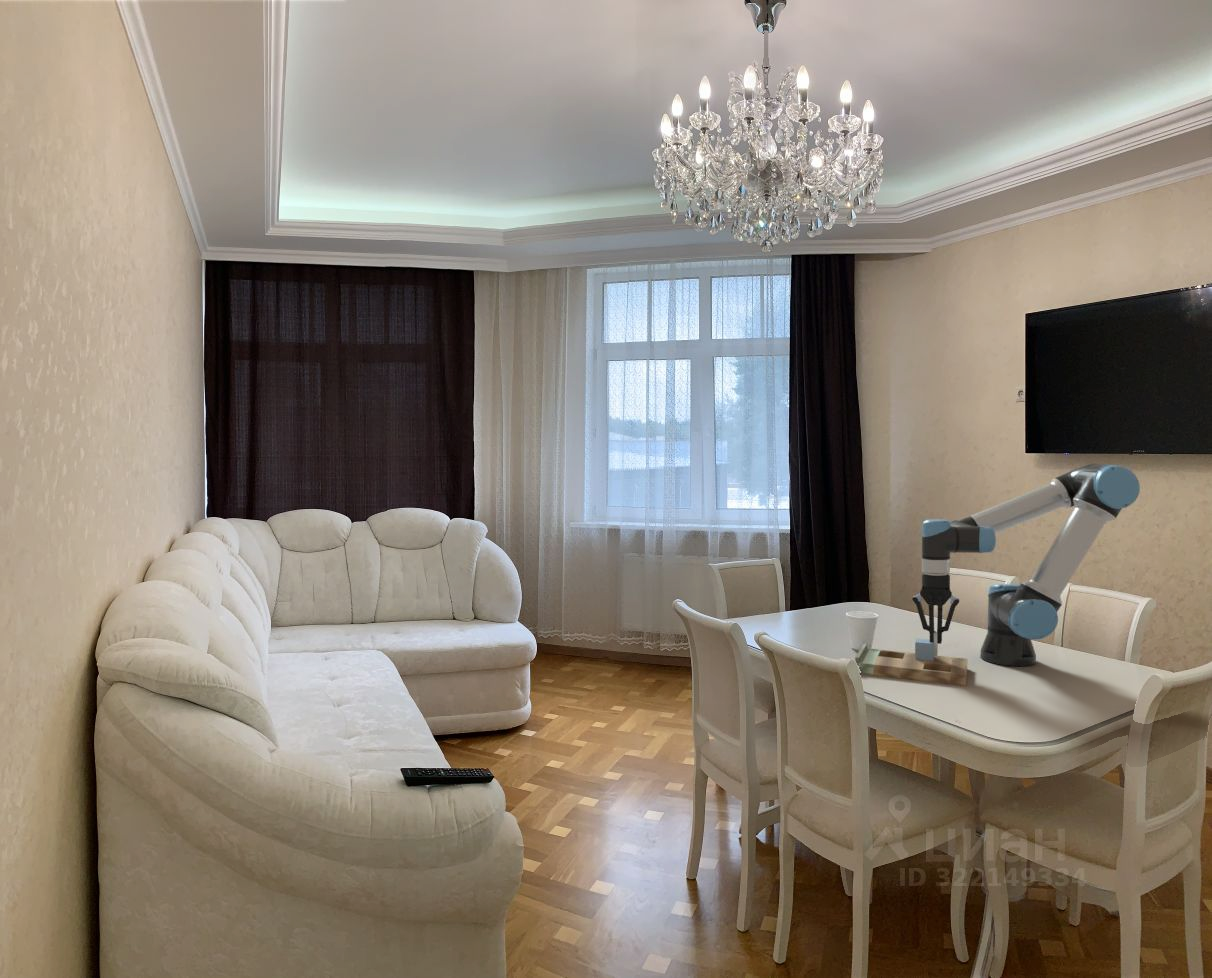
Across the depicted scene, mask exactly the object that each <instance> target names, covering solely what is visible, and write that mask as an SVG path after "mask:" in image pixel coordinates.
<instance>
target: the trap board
mask: <svg viewBox="0 0 1212 978" xmlns="http://www.w3.org/2000/svg"><path fill="white" fill-rule="evenodd" d="M854 659H855V660H854V662H855V661H856V663H857V665H858V666H859V669H860V671H861V674H862V675H869V676H870V675H871V676H876V677H879V676H880V677H886V678H887V677H888V678H897V679H904V680H912V681H920V682H921V681H922V682H930V683H938V684H946V685H947V684H949V685H955V686H956V685H957V686H963V687H964V686H967V676H968V675H967V674H968V658H965V657H964V658H963V657H962V658H961V657H955V656H954V657H953V656H943V655H937V656H935V657H934V661H928V660H917V659H915V652H905V651H896V650H895V651H894V650H889V649H888V650H886V649H876V648H871V649H868V648H867V643H863V645H862V647H861V648H860V650H858V652H857V654H856V655H855V658H854ZM861 674H860V675H861Z"/></svg>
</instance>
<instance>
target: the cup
mask: <svg viewBox="0 0 1212 978" xmlns="http://www.w3.org/2000/svg"><path fill="white" fill-rule="evenodd" d="M845 615H846V619H847V626H848V634H849V641H850V647H851V648H852V649H853V650H855V651H859V650H860V648H861V647H862V645H863V643H867V648H868V649H873V648H872V647H873V643H874V642H873V641H874V639H875V637H874V636H875V631H876V627H877V623H878V618H879V615H878V614H877V613H874V612H870V611H860V610H859V611H858V610H856V611H848V612H845Z"/></svg>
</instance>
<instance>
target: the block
mask: <svg viewBox="0 0 1212 978" xmlns="http://www.w3.org/2000/svg"><path fill="white" fill-rule="evenodd" d="M914 645H915V646H914V647H915V649H914V653H915V659H917V660H928V661H934V657H935V655H934V642H930V638H929V639H927V638H916V639H915V641H914Z"/></svg>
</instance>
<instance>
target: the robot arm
mask: <svg viewBox="0 0 1212 978" xmlns="http://www.w3.org/2000/svg"><path fill="white" fill-rule="evenodd" d="M1140 490H1141V485H1140V481H1139V479H1138V477H1137V475H1136V474H1135V472H1133V471H1132V470H1131V469H1129V468H1128V467H1125V466H1122V465H1119V464H1115V463H1114V464H1113V463H1110V464H1102V463H1089V464H1085V465H1082V466H1079V467H1077V468H1075V469H1072V470H1070V471H1068V472H1066V473H1063V474H1062V475H1059V476H1057V477H1054V478H1052V479H1051V481H1050V483H1048V484H1046V485H1043V486H1042V487H1041V486H1040V487H1038V488H1036V489H1033V490H1031V491H1028V492H1026V493H1024V494H1021V495H1019V496H1016V497H1014V498H1011V499H1009V500H1007V501H1004V502H1002V503H999V504H996V505H993V506H992V507H989V508H987V509H984V510H982V511H981V510H980V511H979V512H977V513H974V514H971V515H970V516H967V517H963V518H962V519H960V520H956V519H955V520H949V519H944V518H943V519H941V518H939V519H938V518H937V519H936V518H935V519H934V518H931V519H925V520H923V522H922V525H921V526H922V527H921V571H922V574H921V588H920V591H919V593H918V594H916V595H913V596H912V602H914V604H915V606H916V609H917V612H918V615H919V619H920V623H921V626H922V628H923V630H925V631H928V632H929V640H930V642H934V655H935V656H938V655H939V654H938V652H939V651H938V650H939V649H938V645H940V644H942V642H943V632H945V633H946V632H949V629H950V625H951V624H952V623H951V622H952V619H953V617H954V616H953V615H954V612H955V610H956V609H955V608H956V607H957V606H958V605H959V603H960V598H958V597H956V596H954V595H953V593H952V591H951V575H950V574H949V573H951V553H953V554H954V553H955V554H956V553H960V554H961V553H963V554H964V553H971V554H975V553H976V554H978V553H979V554H983V553H992V552H993V551H994V549H995V547H996V544H997V543H996V541H997V540H996V539H997V538H996V534H997V533H999V532H1002V531H1005V530H1007V529H1010V528H1012V527H1014V526H1017V525H1019V524H1022V523H1025V522H1027V521H1030V520H1032V519H1035V518H1038V517H1040V516H1042V515H1045V514H1047V513H1050V512H1052V511H1054V510H1058V509H1060V508H1065V509H1070V508H1073V510H1072V512H1071V513H1070V515H1069V516H1068V518H1067V520H1066V521H1065V523H1064V524H1063V526H1062V528H1061V530H1060V531H1059V533H1058V534H1057V536H1056V538H1055V539H1054V540H1053V543H1052V544H1051V545H1050V547H1049V549H1048V551H1047V552H1046V554H1045V555H1044V557H1043V558H1042V560H1041V562H1040V563H1039V565H1038V567H1037V568H1036V570H1035V572H1034V573H1033V575H1032V576H1031V578H1030V579H1029V580H1026V581H1022V582H1021V583H1020V584H1010V583H1008V584H1007V583H1005V584H1004V583H1000V584H999V583H993V584H991V585H990V586H989V588H988V593H987V597H988V598H987V599H988V601H987V603H988V604H987V632H986V636H985V637H984V641H983V643H982V646H981V647H980V652H979V653H980V659H982V660H983V661H986V662H989V663H991V664H996V665H1002V666H1009V667H1010V666H1011V667H1029V666H1030V667H1031V666H1034V665H1035V664H1036V663H1037V654H1036V652H1035V648H1034V645H1033V642H1032V640H1042V639H1044V638H1047V637H1049V635H1051V634H1053V632H1054V631H1055V630H1056V628H1057V626H1058V624H1059V616H1058V611H1059V610H1060V609H1061V607H1062V605H1063V601H1062V598H1061V596H1062V594H1063V592H1064V590H1065V588H1066V587H1067V586H1068V584H1069V582H1070V581H1071V579H1072V578H1073V576H1074V574H1075V573H1076V572H1077V569H1078V568H1079V566H1080V565H1081V563H1082V562H1083V560H1084V559H1085V556H1086V555H1087V553H1088V552H1089V550H1090V549H1091V547H1092V546H1093V544H1094V542H1095V541H1096V539H1097V537H1098V536H1099V534H1100V533H1101V531H1102V530H1103V528H1104V526H1105V524H1107V522H1111V521H1114V520H1116V519H1117V517H1118V516H1119V514H1120V513H1121V510H1123V509H1124V508H1125V509H1126V508H1127V507H1130V506H1131V505H1133V504H1135V502H1136V500H1137V499H1138V497H1139V495H1140ZM922 599H923V600H924V602H925V603H926V604H927V605H928V622H927V619H926V615H925V612H924V608H923V605H922ZM949 599H950V601H949ZM948 601H949V603H950V607H949V609H948V613H947V615H946V620H945V622H944V623H945V624H944V626H943V608H944V607H943V606H944V605H945V604H946V603H947V602H948ZM935 606H937V625H936V630H935V608H934V607H935ZM928 623H929V624H928Z"/></svg>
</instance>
